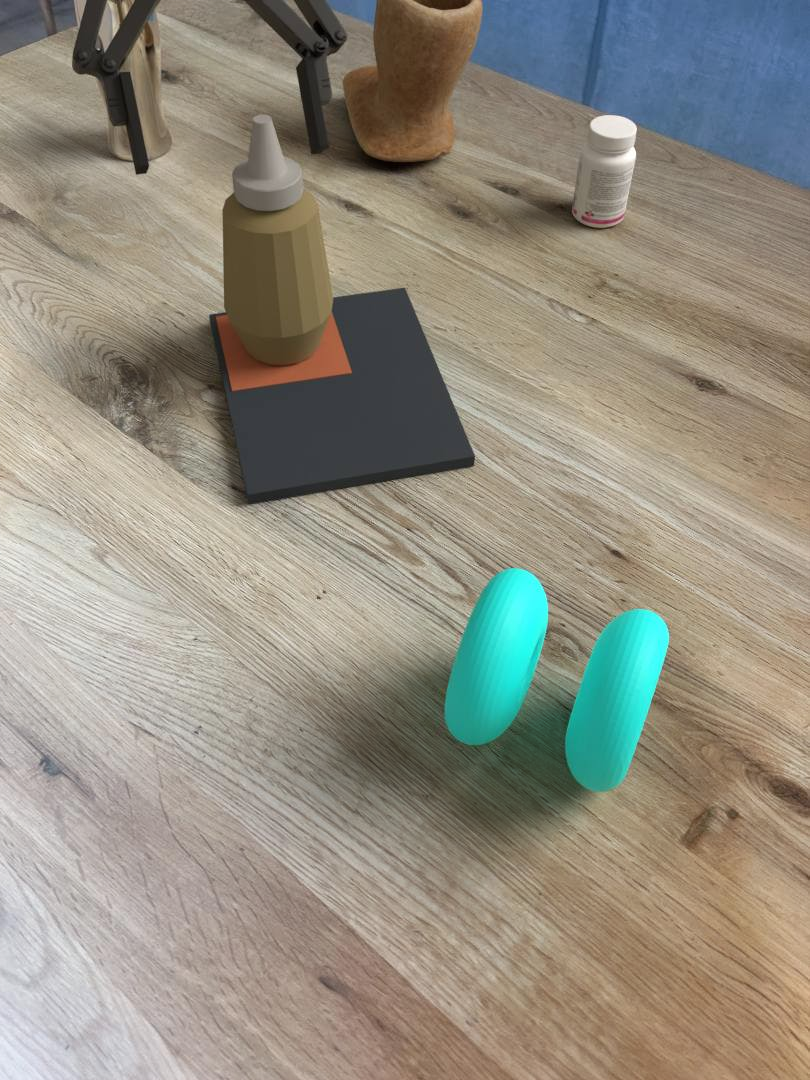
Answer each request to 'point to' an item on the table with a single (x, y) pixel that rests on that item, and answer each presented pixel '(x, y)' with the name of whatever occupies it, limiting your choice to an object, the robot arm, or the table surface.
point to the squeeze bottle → (274, 255)
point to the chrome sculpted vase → (134, 80)
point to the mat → (342, 404)
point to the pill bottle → (605, 172)
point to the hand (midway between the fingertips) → (233, 160)
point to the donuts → (509, 664)
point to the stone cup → (412, 78)
